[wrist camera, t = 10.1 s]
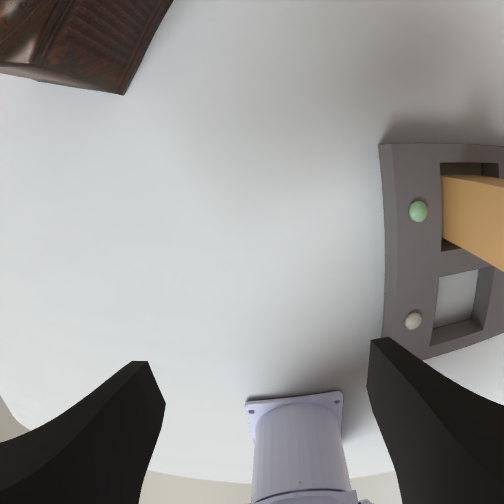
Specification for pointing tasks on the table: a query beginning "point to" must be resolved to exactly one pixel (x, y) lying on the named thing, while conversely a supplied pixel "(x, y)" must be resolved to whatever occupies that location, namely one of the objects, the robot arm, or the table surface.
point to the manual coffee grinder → (78, 40)
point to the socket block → (431, 250)
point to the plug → (474, 215)
